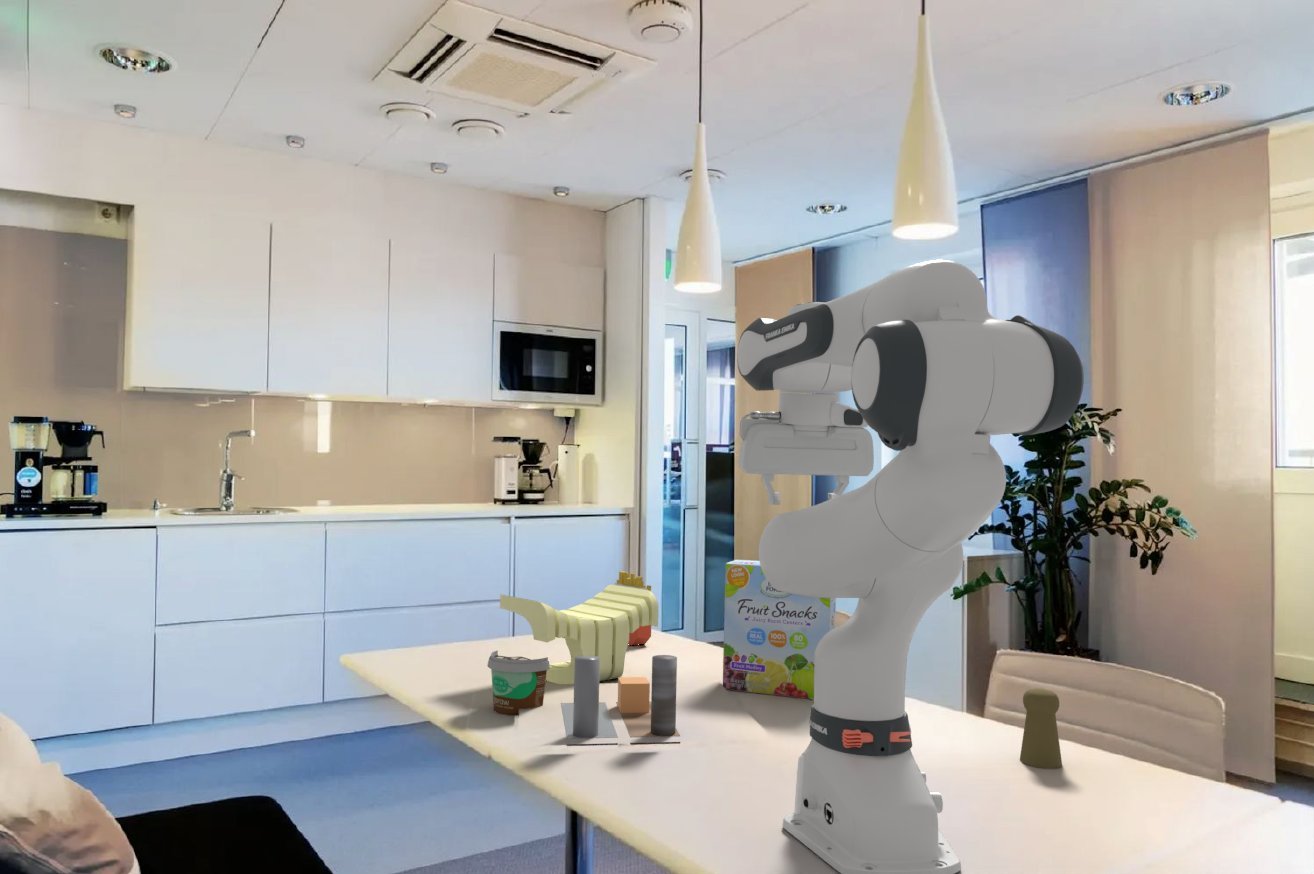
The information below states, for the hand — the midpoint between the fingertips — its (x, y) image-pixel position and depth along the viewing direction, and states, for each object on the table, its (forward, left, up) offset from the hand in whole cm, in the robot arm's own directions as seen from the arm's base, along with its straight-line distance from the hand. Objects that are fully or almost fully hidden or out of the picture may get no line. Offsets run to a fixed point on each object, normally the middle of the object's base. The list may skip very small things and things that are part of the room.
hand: (803, 504), depth 136 cm
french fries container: (+99, +13, -39) cm, 107 cm away
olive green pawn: (-1, -38, -39) cm, 54 cm away
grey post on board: (+23, +20, -39) cm, 49 cm away
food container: (+33, +43, -39) cm, 67 cm away
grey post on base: (+23, +30, -39) cm, 54 cm away
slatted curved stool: (+60, +29, -39) cm, 77 cm away
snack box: (+46, -10, -39) cm, 61 cm away
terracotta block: (+29, +21, -37) cm, 52 cm away
